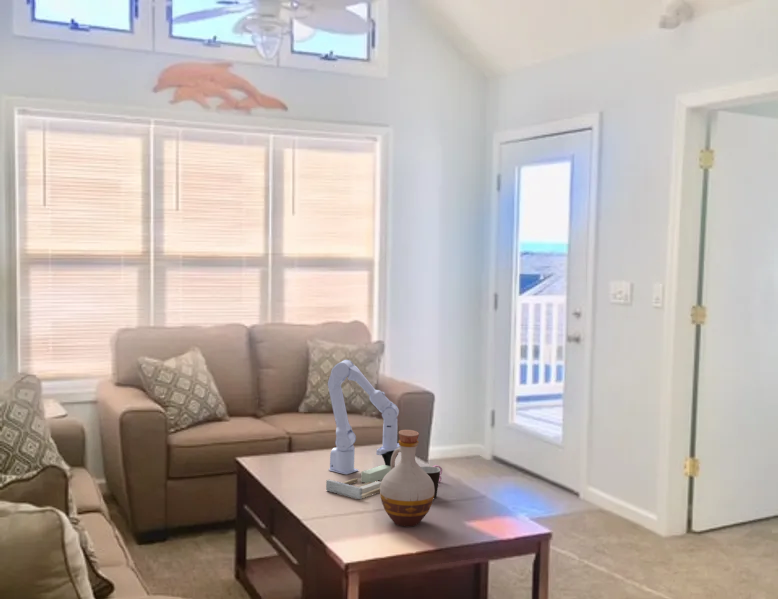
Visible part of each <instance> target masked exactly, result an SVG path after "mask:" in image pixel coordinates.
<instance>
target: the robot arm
mask: <svg viewBox="0 0 778 599" xmlns="http://www.w3.org/2000/svg"><path fill="white" fill-rule="evenodd" d="M346 379H347V380H348V381H353V382H356V384H358V385H359V386H360V387H361V388H362V389H363V391H364V392H366V394H367V395H368V396H369V401H370V402H371V404H372V405H373V406H374V407H375V408H376V409H377V410H378V411H379V412H380V413H381V417H382V419H383V423H382V446H381V447H379V448H377V449H376V455H377V456H382V459H383V461H384V465H388V466H390V465H391V457H392V454H393V452H394V451H395V450H396V449H397V448H400V445H399V442H398V429H399V428H398V416H399V413H400V409H399V408H398V406H397V404H395V403H394V402H393V401H391V400H390V399H389V398H388V397H387V396H386V392H385V391H381V390H380V389H375V387H374V386H373V385H372V383H371V382H370V381H369V380H368V378H366V376H365V375H364V374H363V372H362V371H361V370H360V369H359V367H358V366H356V365H355V364H354V362H353V361H351V360H350V359H342V361H340V362H338V363H336V364H335V365H334V367H332V369H331V372H330V375H329V378H328V381H327V386H328V387H327V388H328V392H329V397H330V403H331V407H332V412H333V417H334V420H335V426H336V427H335V428H336V429H335V436H336V437H335V446H336V447H333V448H332V449H331V451H330V455H329V468H328V471H330V472H335V473H339V474H343V475H350V474H352V473H355V472H358V470H359V469H358V468H355V452H356V451H355V445H354V444H355V442H356V440H357V436H356V434H355V432H354V431H353V428H352V426H351V424H350V421H349V416H348V413H347V408H346V403H345V399H344V394H343V389H342V385H343V383H344V382H345V380H346ZM398 455H399V453H398V454H397V456H396V458H397V457H398ZM396 458H395V460H396ZM359 471H360V470H359Z"/></svg>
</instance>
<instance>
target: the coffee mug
mask: <svg viewBox="0 0 778 599" xmlns="http://www.w3.org/2000/svg"><path fill="white" fill-rule="evenodd" d="M420 467H421V468H422V469H423V470H424V471H425V472H426V473H427V474H428V475H429V476H430V478H431V479H432V481H433V483H434V489H435V492H434V498H435V499H437V495H438V488H439V483H440V482H439V477H440V476H441V475H440V468H439V467H432V466H430V465H429V466H428V465H427V466H425V465H424V466H420Z"/></svg>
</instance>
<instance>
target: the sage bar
mask: <svg viewBox="0 0 778 599" xmlns="http://www.w3.org/2000/svg"><path fill="white" fill-rule="evenodd" d="M389 471H391V466H388V465H385V464H382V465H379V466H378V465H377V466H375V467H372V468H369V469H366V470H363V471H361V473H360V475H361V476H360V482H361V483H362V482H365V483H368V482H372V483H373V482H375V481H378V480H380V481H382V480H381V479H383V478H384V476H385V475H386V474H387V473H388V472H389ZM365 483H364V484H365Z"/></svg>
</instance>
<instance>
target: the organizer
mask: <svg viewBox="0 0 778 599" xmlns="http://www.w3.org/2000/svg"><path fill="white" fill-rule="evenodd" d="M325 482H326V484H325V487H326V489H325V491H326V490H327V491H326V492H328V491H330V492H329V493H332V492H334V493H333V494H335V493H337V494H336V495H339V494H340V495H339V496H343V495H344V496H343V497H346V496H348V497H347V498H350V497H351V498H350V499H354V498H356V499H355V500H357V499H360V500H363V499H366V498H368V497H367V496H369V497H371V496H373V495H372V494H374V495H376V494H375V493H377V494H378V492H379V493H380V488H377V489H374V490H372V491H369V492H366V493H363V494H362V488H360V487H361V486H364V485H367V484H370V483H372V482H368V483H363V484H360V485H357V486H355V485H352V483H353V484H355V483H354V482H356V483H358V478H356V477H355V478H351V479H349V480H346V481H343V482H341V481H336V480H334V479H333V480H332V479H327V480H326V481H325ZM349 484H350V485H349ZM370 495H371V496H370ZM365 497H366V498H365ZM362 498H363V499H362Z"/></svg>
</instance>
